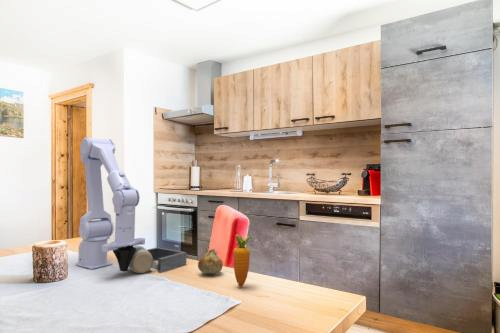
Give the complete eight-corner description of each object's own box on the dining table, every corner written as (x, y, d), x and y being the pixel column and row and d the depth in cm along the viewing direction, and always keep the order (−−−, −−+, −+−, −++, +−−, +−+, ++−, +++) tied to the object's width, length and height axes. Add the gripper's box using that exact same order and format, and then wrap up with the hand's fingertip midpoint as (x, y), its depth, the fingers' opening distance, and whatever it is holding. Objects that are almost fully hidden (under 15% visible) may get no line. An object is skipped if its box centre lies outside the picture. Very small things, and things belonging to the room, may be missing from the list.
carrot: (251, 285, 97) (252, 233, 97) (246, 291, 92) (247, 236, 93) (235, 283, 99) (236, 232, 99) (229, 289, 94) (230, 235, 94)
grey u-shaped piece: (130, 266, 115) (130, 253, 116) (157, 258, 126) (157, 247, 126) (160, 272, 108) (160, 259, 108) (186, 264, 119) (186, 252, 119)
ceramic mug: (131, 276, 104) (132, 251, 104) (123, 269, 111) (125, 246, 111) (164, 271, 110) (165, 248, 110) (155, 265, 117) (156, 243, 117)
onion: (194, 272, 109) (194, 248, 109) (217, 270, 113) (217, 246, 113) (202, 279, 102) (202, 253, 102) (226, 276, 106) (226, 250, 106)
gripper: (113, 231, 97) (111, 279, 96) (151, 225, 109) (150, 267, 109) (98, 229, 100) (96, 274, 100) (137, 223, 113) (136, 264, 112)
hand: (123, 271), depth 105 cm, fingers closed
